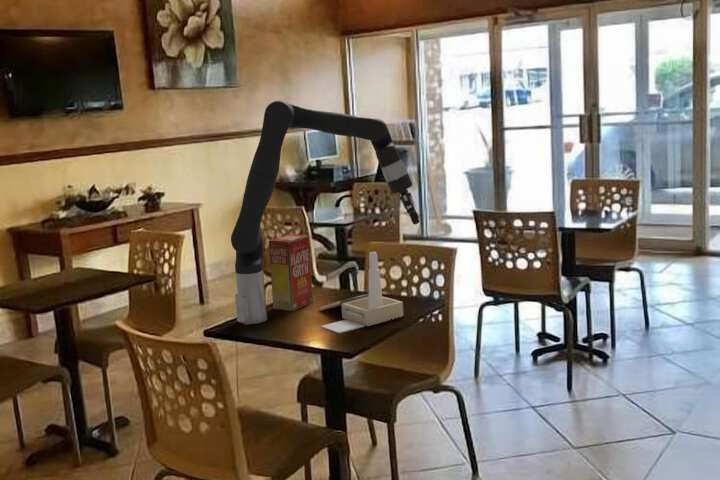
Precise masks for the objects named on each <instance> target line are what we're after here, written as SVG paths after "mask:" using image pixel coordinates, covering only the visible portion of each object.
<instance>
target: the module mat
mask: <svg viewBox="0 0 720 480" xmlns="http://www.w3.org/2000/svg"><path fill="white" fill-rule="evenodd" d="M365 326H366V325H363V324H360V323H356V322H353V321H350V320H347V319H343V320H339V321H335V322H331V323H328V324H327V323H326V324H324V325H321V326H320V327H321V328H322V329H325V330H328V331H331V332H334V333H336V334H342V333H347V332H350V331H353V330H357V329H361V328H364V327H365Z"/></svg>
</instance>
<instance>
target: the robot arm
mask: <svg viewBox="0 0 720 480" xmlns="http://www.w3.org/2000/svg"><path fill="white" fill-rule="evenodd" d="M289 129H308V130H315V131H317V132H322V133H324V134H325V133H326V134H330V135H336V136H341V137H349V138H350V137H351V138H353V137H354V138H358V139H363V140H366V141H370V143H371V145H372V147H373V150H374V152H375V156H376V159H377V162H378V164H379V166H380V168H381V171H382V174H383V177H384V179H385V182H386V184H387V186H388V189H389V191H390V194H392V195H395V194H398V193H399V194H400V196H399V200H400V202H401V203H402V206H403V208H404V210H406V214H408V215H409V218H410V220H411V222H412V224H413V225H414V226H416V225H418V224H419V223H420V218H419V217H420V216H419V214H418V212H417V210H416V207H415V201H414V199H413V196H412V192H409V188H411V187H412V186H413V181H412V179H411V177H410V174H409V172H408V170H407V168H406V166H405V164H404V162H403V160H402V158H401V156H400V154H399V151H398V150H397V147H396V145H395V143H394V142H393V139H392V135H391V133H390V130H389V128H388V126H387V123H386V122H385V121H384V120H383V119H381V118H370V117H362V116H361V117H360V116H357V115H353V114H349V113H342V112H333V111H325V110H314V109H308V108H305V107H300V106H297V105H295V104H291V103H289V102H287V101H284V100H275V101H273V102H270V103H269V104H268V105H267V107H266V108H265V111H264V113H263V121H262V128H261V133H260V138H259V141H258V142H259V143H258V145H257V148H256V150H255V152H254V153H255V154H254V156H253V159H252V163H251V165H250V167H249V171H248V175H247V178H246V179H247V180H246V184H245V187H244V192H243V197H242V201H241V208H240V212H239V215H238V218H237V220H236V223H235V224H234V228H233V230H232V233H231V236H230V243H231V245H232V248H233V250H234V251H235V264H234V272H235V279H236V280H235V281H236V282H235V284H236V292H237V293H236V294H235V295H234V298H235V309H236V321H237V323H238V322H239V323H241V324H243V325H255V324H260V323H261V324H262V323H263V322H264V323H265V322H266V321H267V320H268V315H267V313H268V312H267V303H266V302H267V301H266V290H265V279H264V246H263V236H262V235H263V234H262V231H261V230H260V228H261V224H262V223H261V222H262V219H263V215H264V213H265V210H266V208H267V206H268V204H269V203H270V200H271V198H272V195H273V192H274V190H275V187H276V183H277V181H278V180H277V179H278V177H279V171H280V166H281V165H280V164H281V154H282V153H281V152H282V146H283V143H284V141H285V138H286V135H287V132H288V130H289Z"/></svg>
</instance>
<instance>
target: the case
mask: <svg viewBox="0 0 720 480" xmlns="http://www.w3.org/2000/svg"><path fill="white" fill-rule="evenodd" d="M367 296H369V293H366V295H365V294H362V295H357V296H354V297H349V298H345V299H342V300H339V301H340V302H341V303H342V304H341V316H342V317H341V319H343V320H349V321H352V322H356V323H359V324H362V325H364V326H366V327H369V326H373V325H377V324H381V323H384V322H387V321H391V319H392V320H395V318H396V319H398V317H399V318H402V316H403V317H404V301H401V300H398V299H394V298H390V297H386V296H383V295H382V299H383V306H381V307H377V308H373V309H369V310H368V305H369V297H367ZM363 297H366V298H363ZM359 298H362V299H359ZM355 299H358V300H355ZM351 300H354V301H351ZM347 301H350V302H347ZM343 302H346V303H343Z"/></svg>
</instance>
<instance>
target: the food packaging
mask: <svg viewBox="0 0 720 480" xmlns="http://www.w3.org/2000/svg"><path fill="white" fill-rule="evenodd" d="M310 249H311V248H310V235H308V234H296V233H295V234H294V233H291V234H290V233H289V234H287V235H283V236H281V237H277V238H274V239H269V240H268V250H269V266H270V280H271V281H270V282H271V294H272V296H271V297H272V309H273V310H280V311H289V312H294V311H296V310H298V309H301V308H304V307H306V306H308V305H311V304H313V303H314V298H313V297H314V295H313V282H312V281H313V280H312V279H313V278H312V267H311V266H312V264H311V252H310Z"/></svg>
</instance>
